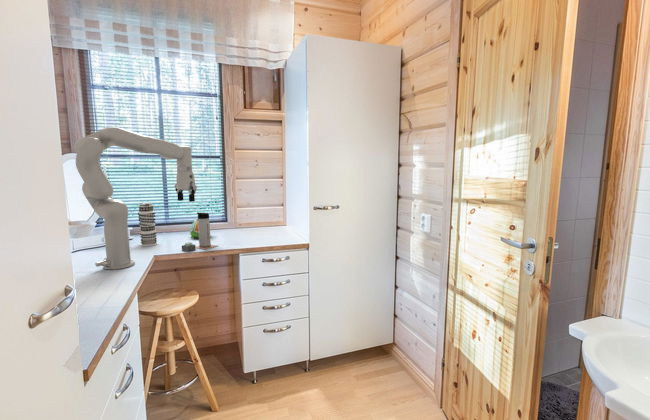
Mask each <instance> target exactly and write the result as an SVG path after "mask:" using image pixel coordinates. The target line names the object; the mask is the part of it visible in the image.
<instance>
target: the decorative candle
mask: <svg viewBox="0 0 650 420" xmlns="http://www.w3.org/2000/svg"><path fill="white" fill-rule="evenodd" d="M154 206H155V205H153V204H152V203H151V202H142V203H140V204H139V205H138V213H137V216H138V221H139V223H138V224H139V227H140V238H141V239H140V241H141V242H140V244H141V245H140V246H141V247H153V246H156V245H158V243H157V242H158V239H157V232H156V227H155V226H156V218H155V217H156V212H155V209H154Z"/></svg>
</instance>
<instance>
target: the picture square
mask: <svg viewBox="0 0 650 420" xmlns="http://www.w3.org/2000/svg"><path fill="white" fill-rule="evenodd" d="M217 247H218V245H217V244H216V245H215V244H211V246H210V247H206V248H201V247H199V245H197V246H195V249H197V250H204V251H206V250H210V249H213V248H217Z"/></svg>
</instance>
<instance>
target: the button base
mask: <svg viewBox="0 0 650 420" xmlns="http://www.w3.org/2000/svg"><path fill="white" fill-rule="evenodd" d="M195 247H196V244H193V243H192V246H185V244H183V245H181V251H182V252H186V253H189V252H193V251H196V248H195Z"/></svg>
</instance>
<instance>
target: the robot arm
mask: <svg viewBox="0 0 650 420" xmlns="http://www.w3.org/2000/svg"><path fill="white" fill-rule="evenodd" d="M111 147H117V148H118V147H119V148H122V149H126V150H129V151H133V152H137V153H142V154H153V155H159V156H160V157H161V158H162V159H164V160H176V184H174V189H175V191H176V194H177V195H176V196H177V201H179V202H181V201H182V202H183V201H184V193H183V192H184V191H187V192H188V193H189V194H188V202H189V203H190V202H196V199H195V194H196V192H197V188H198V185H197V184H196V181H195V180H196V179H195V173H194V171H193V161H192V160H193V159H192V148H191V146H189V145H180V144H177V143H175V142H171V141H168V140H164V139H160V138H156V137H151V136H149V135H148V136H147V135H143V134H141V133H137V132H135V131H130V130H127V129H125V128H121V127H118V126H110V127H104V128H102V129H100V130H98V131H95V132H94V133H91V134H88V135H86V136H83V137H81V138H78V139H77V140H76V141H75V143H74V145H73V150H74V153H76V156H75V168H76V170H77V172H78V174H79V176H80V177H81V179H82V181H83V183H82V186H81V190H82V193H83V195H84V197H85V199H86V201H88V203H89V205H90V206H91V208H92V209H93V211H94V212H95V213H96V214H97V215H98V216H99V217H100V218H103V219H104V222H103V234H104V242H105V243H104V246H105V254H106V257H105V258H104V259H103V260H102V261H97V262H95V264H94V265H95V267H96V268H98V267H101V266H102V267H103V269H104V270H108V271H109V270H111V271H112V270H121V269H122V270H123V269H125V268H130V267H132V266H134V265H135V264H136V262H135V260H133V259H131V252H130V251H131V249H130V239H129V236H130V235H129V227H128V221H129V220H128V218H129V209H128V206H127V204H126V203H125V202H124V201H122V200H120V199H117V198H116V199H114V198H113V194H114V187H113V185H112V183H111V182H110V180H109V179H108V177H107V176H106V173H105V172H104V170H103V168H102V166H101V163H100V159H101V156H102V155H103V153H104V151H105V150H107V149H109V148H111Z"/></svg>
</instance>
